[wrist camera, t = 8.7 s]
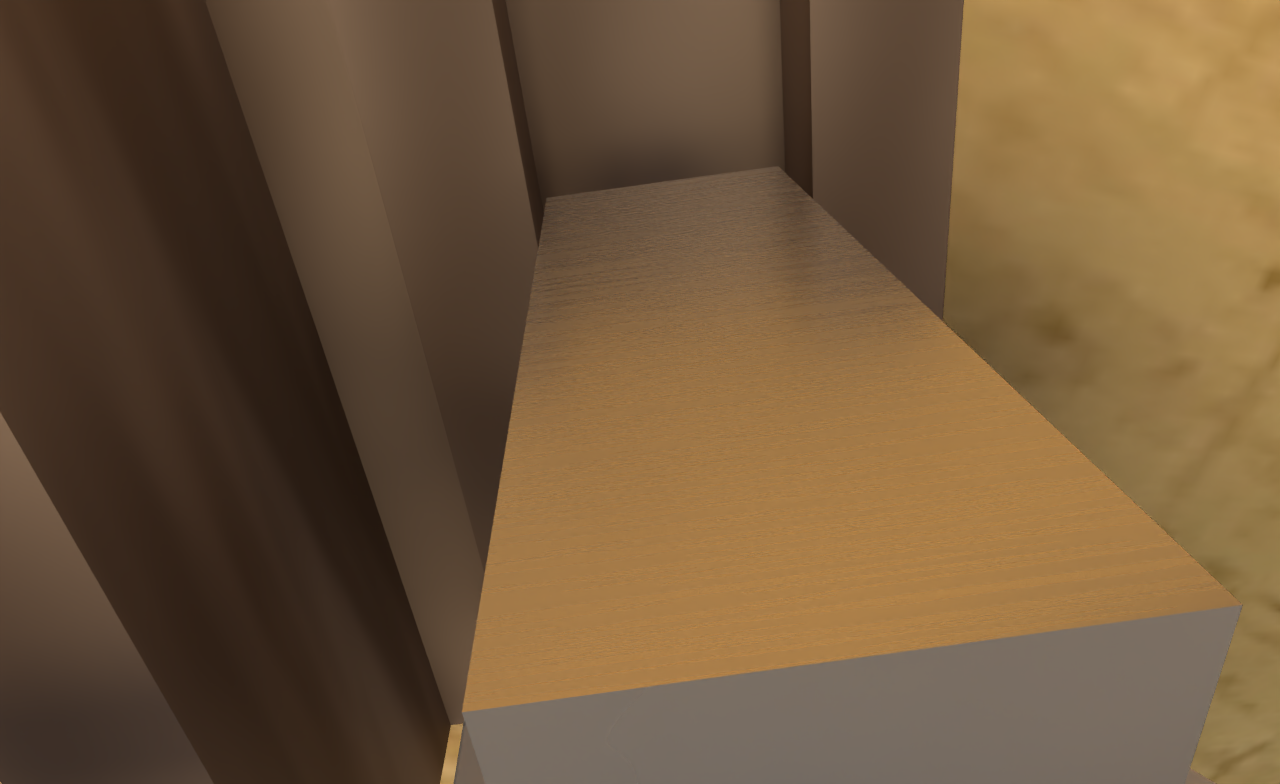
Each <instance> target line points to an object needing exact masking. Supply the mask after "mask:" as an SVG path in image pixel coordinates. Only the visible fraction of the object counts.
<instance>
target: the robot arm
mask: <svg viewBox="0 0 1280 784" xmlns="http://www.w3.org/2000/svg"><path fill="white" fill-rule="evenodd" d="M454 784H485V781H484V778H483V775H482V772H481V769H480V766H479V763H478V760H477V757H476V754H475V751H474V748H473V745H472V742H471V739H470V735H469V732H468V729H467V726H466V723H465V720H464V723H463V730H462V736H461V742H460V748H459V754H458V760H457V766H456V772H455V779H454ZM1185 784H1216V783H1214V782H1213V781H1211V780H1209V779H1208V778H1206V777H1204V776H1203V775H1201V774H1199V773H1197V772H1196V771H1194V770H1192V769H1191V768H1190V769H1189V772H1188V775H1187V779H1186V782H1185Z"/></svg>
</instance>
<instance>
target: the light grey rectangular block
mask: <svg viewBox="0 0 1280 784" xmlns="http://www.w3.org/2000/svg"><path fill="white" fill-rule="evenodd" d="M1242 606H1243V605H1242V604H1241V603H1240V602H1239V601H1238V600H1237V599H1236V598H1235V597H1234V596H1233V595H1232V594H1231V593H1230V592H1228V591H1227V590H1226V589H1225V588H1224V587H1223V586H1222V585H1221V584H1220V583H1219V582H1218V581H1217V580H1216V579H1215V578H1214V577H1213V576H1212V575H1210V574H1209V573H1208V572H1207V571H1206V570H1205V569H1204V568H1203V567H1202V566H1201V565H1200V564H1199V563H1198V562H1197V561H1196V560H1195V559H1194V558H1192V557H1191V556H1190V555H1189V554H1188V553H1187V552H1186V551H1185V550H1184V549H1183V548H1182V547H1181V546H1180V545H1179V544H1178V543H1177V542H1176V541H1174V540H1173V539H1172V538H1171V537H1170V536H1169V535H1168V534H1167V533H1166V532H1165V531H1164V530H1163V529H1162V528H1161V527H1160V526H1159V525H1158V524H1156V523H1155V522H1154V521H1153V520H1152V519H1151V518H1150V517H1149V516H1148V515H1147V514H1146V513H1145V512H1144V511H1143V510H1142V509H1141V508H1140V507H1138V506H1137V505H1136V504H1135V503H1134V502H1133V501H1132V500H1131V499H1130V498H1129V497H1128V496H1127V495H1126V494H1125V493H1124V492H1123V491H1122V490H1120V489H1119V488H1118V487H1117V486H1116V485H1115V484H1114V483H1113V482H1112V481H1111V480H1110V479H1109V478H1108V477H1107V476H1106V475H1105V474H1104V473H1102V472H1101V471H1100V470H1099V469H1098V468H1097V467H1096V466H1095V465H1094V464H1093V463H1092V462H1091V461H1090V460H1089V459H1088V458H1087V457H1086V456H1084V455H1083V454H1082V453H1081V452H1080V451H1079V450H1078V449H1077V448H1076V447H1075V446H1074V445H1073V444H1072V443H1071V442H1070V441H1069V440H1068V439H1066V438H1065V437H1064V436H1063V435H1062V434H1061V433H1060V432H1059V431H1058V430H1057V429H1056V428H1055V427H1054V426H1053V425H1052V424H1051V423H1050V422H1048V421H1047V420H1046V419H1045V418H1044V417H1043V416H1042V415H1041V414H1040V413H1039V412H1038V411H1037V410H1036V409H1035V408H1034V407H1033V406H1032V405H1030V404H1029V403H1028V402H1027V401H1026V400H1025V399H1024V398H1023V397H1022V396H1021V395H1020V394H1019V393H1018V392H1017V391H1016V390H1015V389H1014V388H1012V387H1011V386H1010V385H1009V384H1008V383H1007V382H1006V381H1005V380H1004V379H1003V378H1002V377H1001V376H1000V375H999V374H998V373H997V372H996V371H994V370H993V369H992V368H991V367H990V366H989V365H988V364H987V363H986V362H985V361H984V360H983V359H982V358H981V357H980V356H979V355H978V354H976V353H975V352H974V351H973V350H972V349H971V348H970V347H969V346H968V345H967V344H966V343H965V342H964V341H963V340H962V339H961V338H960V337H958V336H957V335H956V334H955V333H954V332H953V331H952V330H951V329H950V328H949V327H948V326H947V325H946V324H945V323H944V322H943V321H942V320H940V319H939V318H938V317H937V316H936V315H935V314H934V313H933V312H932V311H931V310H930V309H929V308H928V307H927V306H926V305H925V304H924V303H922V302H921V301H920V300H919V299H918V298H917V297H916V296H915V295H914V294H913V293H912V292H911V291H910V290H909V289H908V288H907V287H906V286H904V285H903V284H902V283H901V282H900V281H899V280H898V279H897V278H896V277H895V276H894V275H893V274H892V273H891V272H890V271H889V270H888V269H886V268H885V267H884V266H883V265H882V264H881V263H880V262H879V261H878V260H877V259H876V258H875V257H874V256H873V255H872V254H871V253H870V252H868V251H867V250H866V249H865V248H864V247H863V246H862V245H861V244H860V243H859V242H858V241H857V240H856V239H855V238H854V237H853V236H852V235H850V234H849V233H848V232H847V231H846V230H845V229H844V228H843V227H842V226H841V225H840V224H839V223H838V222H837V221H836V220H835V219H834V218H832V217H831V216H830V215H829V214H828V213H827V212H826V211H825V210H824V209H823V208H822V207H821V206H820V205H819V204H818V203H817V202H816V201H814V200H813V199H812V198H811V197H810V196H809V195H808V194H807V193H806V192H805V191H804V190H803V189H802V188H801V187H800V186H799V185H798V184H796V183H795V182H794V181H793V180H792V179H791V178H790V177H789V176H788V175H787V174H786V173H785V172H784V171H783V170H782V169H781V168H780V167H778V166H776V167H768V168H761V169H754V170H746V171H739V172H732V173H724V174H717V175H710V176H702V177H695V178H688V179H680V180H673V181H665V182H658V183H651V184H643V185H636V186H629V187H621V188H614V189H607V190H599V191H592V192H585V193H577V194H570V195H563V196H555V197H548V198H547V199H546V205H545V211H544V217H543V223H542V229H541V235H540V241H539V247H538V253H537V259H536V265H535V271H534V277H533V284H532V290H531V296H530V302H529V308H528V314H527V320H526V326H525V332H524V338H523V344H522V350H521V356H520V362H519V369H518V375H517V381H516V387H515V393H514V399H513V405H512V411H511V417H510V423H509V429H508V435H507V441H506V447H505V454H504V460H503V466H502V472H501V478H500V484H499V490H498V496H497V502H496V508H495V514H494V520H493V526H492V532H491V538H490V545H489V551H488V557H487V563H486V569H485V575H484V581H483V587H482V593H481V599H480V605H479V611H478V617H477V623H476V630H475V636H474V642H473V648H472V654H471V660H470V666H469V672H468V678H467V684H466V690H465V696H464V702H463V708H462V714H463V717H464V720H465V723H466V726H467V729H468V732H469V735H470V739H471V742H472V745H473V748H474V751H475V754H476V757H477V760H478V763H479V766H480V769H481V772H482V775H483V778H484V781H485V784H1185V782H1186V779H1187V775H1188V772H1189V769H1190V766H1191V763H1192V760H1193V757H1194V754H1195V751H1196V748H1197V745H1198V741H1199V738H1200V735H1201V732H1202V729H1203V726H1204V723H1205V720H1206V717H1207V714H1208V711H1209V708H1210V704H1211V701H1212V698H1213V695H1214V692H1215V689H1216V686H1217V683H1218V680H1219V677H1220V674H1221V670H1222V667H1223V664H1224V661H1225V658H1226V655H1227V652H1228V649H1229V646H1230V643H1231V640H1232V637H1233V633H1234V630H1235V627H1236V624H1237V621H1238V618H1239V615H1240V612H1241V609H1242Z"/></svg>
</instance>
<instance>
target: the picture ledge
mask: <svg viewBox="0 0 1280 784" xmlns="http://www.w3.org/2000/svg"><path fill="white" fill-rule="evenodd" d="M963 5H964V0H0V782H1V783H2V784H440V780H441V775H442V769H443V764H444V758H445V753H446V748H447V742H448V737H449V731H450V726H451V725H454V724H462V723H464V717H463V714H462V708H463V702H464V696H465V690H466V684H467V678H468V672H469V666H470V660H471V654H472V648H473V642H474V636H475V630H476V623H477V617H478V611H479V605H480V599H481V593H482V587H483V581H484V575H485V569H486V563H487V557H488V551H489V545H490V538H491V532H492V526H493V520H494V514H495V508H496V502H497V496H498V490H499V484H500V478H501V472H502V466H503V460H504V454H505V447H506V441H507V435H508V429H509V423H510V417H511V411H512V405H513V399H514V393H515V387H516V381H517V375H518V369H519V362H520V356H521V350H522V344H523V338H524V332H525V326H526V320H527V314H528V308H529V302H530V296H531V290H532V284H533V277H534V271H535V265H536V259H537V253H538V247H539V241H540V235H541V229H542V223H543V217H544V211H545V205H546V199H547V198H548V197H555V196H563V195H570V194H577V193H585V192H592V191H599V190H607V189H614V188H621V187H629V186H636V185H643V184H651V183H658V182H665V181H673V180H680V179H688V178H695V177H702V176H710V175H717V174H724V173H732V172H739V171H746V170H754V169H761V168H768V167H776V166H778V167H780V168H781V169H782V170H783V171H784V172H785V173H786V174H787V175H788V176H789V177H790V178H791V179H792V180H793V181H794V182H795V183H796V184H798V185H799V186H800V187H801V188H802V189H803V190H804V191H805V192H806V193H807V194H808V195H809V196H810V197H811V198H812V199H813V200H814V201H816V202H817V203H818V204H819V205H820V206H821V207H822V208H823V209H824V210H825V211H826V212H827V213H828V214H829V215H830V216H831V217H832V218H834V219H835V220H836V221H837V222H838V223H839V224H840V225H841V226H842V227H843V228H844V229H845V230H846V231H847V232H848V233H849V234H850V235H852V236H853V237H854V238H855V239H856V240H857V241H858V242H859V243H860V244H861V245H862V246H863V247H864V248H865V249H866V250H867V251H868V252H870V253H871V254H872V255H873V256H874V257H875V258H876V259H877V260H878V261H879V262H880V263H881V264H882V265H883V266H884V267H885V268H886V269H888V270H889V271H890V272H891V273H892V274H893V275H894V276H895V277H896V278H897V279H898V280H899V281H900V282H901V283H902V284H903V285H904V286H906V287H907V288H908V289H909V290H910V291H911V292H912V293H913V294H914V295H915V296H916V297H917V298H918V299H919V300H920V301H921V302H922V303H924V304H925V305H926V306H927V307H928V308H929V309H930V310H931V311H932V312H933V313H934V314H935V315H936V316H937V317H938V318H939V319H940V320H942V321H943V307H944V292H945V277H946V262H947V247H948V231H949V216H950V201H951V186H952V171H953V156H954V141H955V126H956V110H957V95H958V80H959V65H960V50H961V35H962V20H963Z"/></svg>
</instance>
